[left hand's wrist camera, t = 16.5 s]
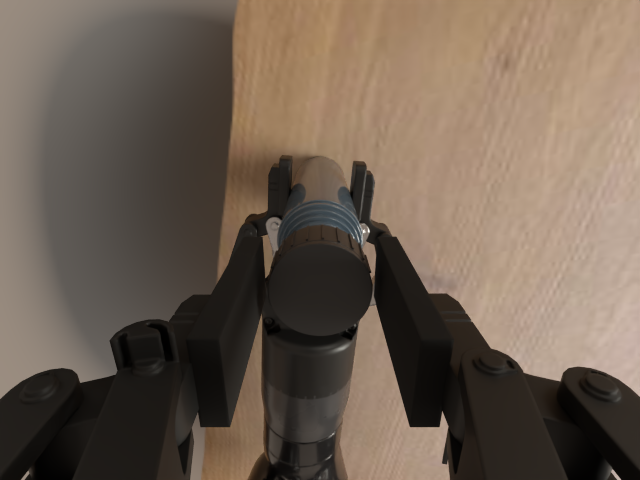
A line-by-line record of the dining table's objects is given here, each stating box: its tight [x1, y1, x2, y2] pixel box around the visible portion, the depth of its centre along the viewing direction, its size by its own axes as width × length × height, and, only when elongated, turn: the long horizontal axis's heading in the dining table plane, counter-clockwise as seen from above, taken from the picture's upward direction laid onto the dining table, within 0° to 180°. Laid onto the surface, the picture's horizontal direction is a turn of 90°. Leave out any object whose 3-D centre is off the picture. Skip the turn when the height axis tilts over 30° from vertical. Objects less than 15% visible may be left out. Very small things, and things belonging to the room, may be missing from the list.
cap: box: [267, 224, 373, 336], centre depth 14 cm, size 4×4×2 cm
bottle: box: [277, 157, 363, 249], centre depth 22 cm, size 4×4×18 cm
